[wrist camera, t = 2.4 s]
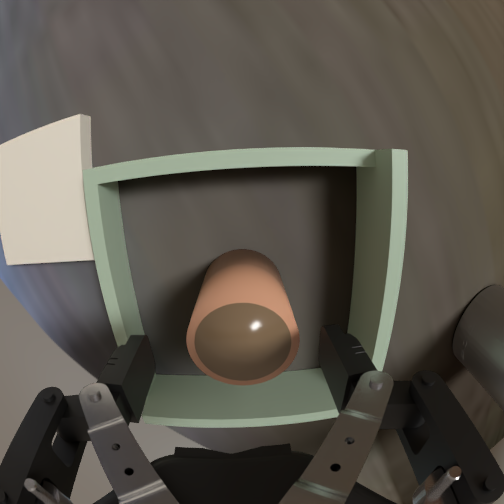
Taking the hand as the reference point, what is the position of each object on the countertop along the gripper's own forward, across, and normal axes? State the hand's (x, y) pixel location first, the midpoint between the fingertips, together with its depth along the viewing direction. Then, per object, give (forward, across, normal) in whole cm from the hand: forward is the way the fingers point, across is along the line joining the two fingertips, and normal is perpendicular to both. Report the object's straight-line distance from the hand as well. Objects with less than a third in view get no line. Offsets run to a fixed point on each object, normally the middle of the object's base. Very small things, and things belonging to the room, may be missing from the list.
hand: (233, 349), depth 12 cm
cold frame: (+8, -1, 0) cm, 8 cm away
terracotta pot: (+8, -1, 0) cm, 8 cm away
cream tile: (+8, +14, -8) cm, 18 cm away
